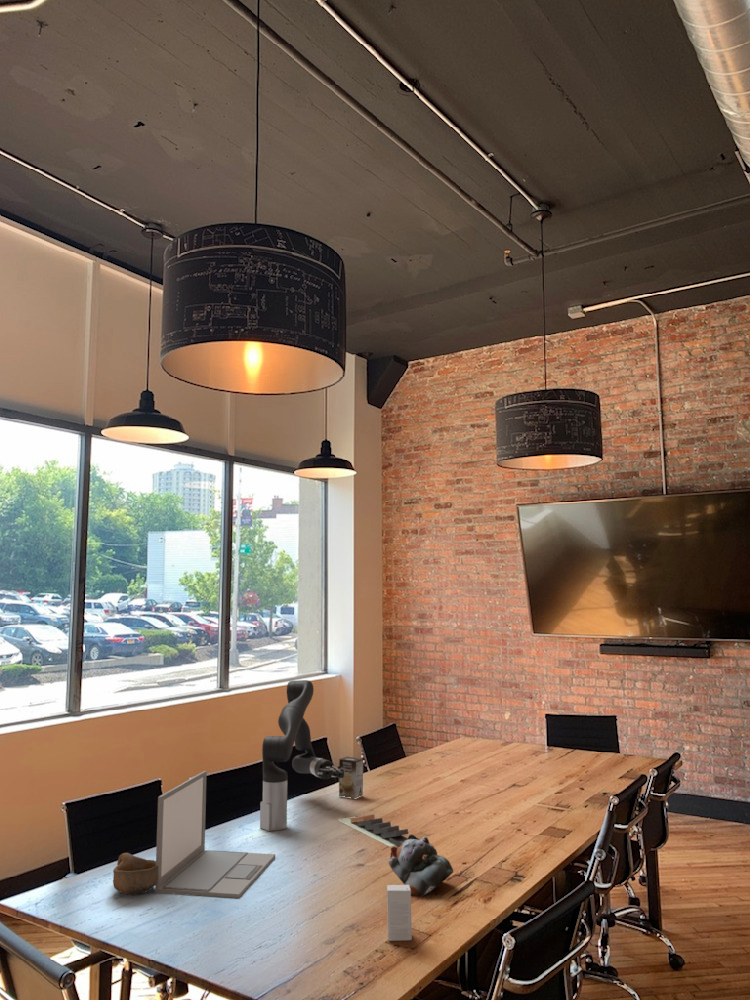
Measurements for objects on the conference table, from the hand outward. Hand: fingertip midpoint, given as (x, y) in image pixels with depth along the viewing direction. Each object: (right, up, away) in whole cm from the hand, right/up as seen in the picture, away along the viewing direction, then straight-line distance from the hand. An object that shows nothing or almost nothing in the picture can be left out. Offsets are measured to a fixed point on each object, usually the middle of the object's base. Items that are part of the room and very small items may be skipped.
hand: (342, 775), depth 300 cm
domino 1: (+6, -13, -11) cm, 18 cm away
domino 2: (+9, -13, -15) cm, 22 cm away
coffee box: (+3, -20, +27) cm, 34 cm away
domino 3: (+12, -12, -20) cm, 26 cm away
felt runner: (+13, -13, -22) cm, 28 cm away
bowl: (-59, -6, -77) cm, 97 cm away
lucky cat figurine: (+27, -6, -76) cm, 81 cm away
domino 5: (+18, -11, -30) cm, 36 cm away
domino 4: (+15, -11, -25) cm, 31 cm away
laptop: (-36, -8, -64) cm, 74 cm away
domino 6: (+20, -10, -34) cm, 41 cm away
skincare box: (+19, -1, -109) cm, 111 cm away
